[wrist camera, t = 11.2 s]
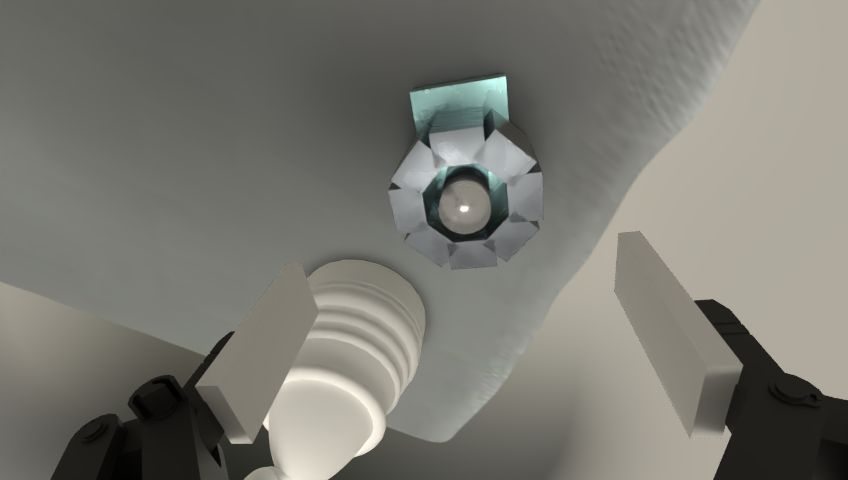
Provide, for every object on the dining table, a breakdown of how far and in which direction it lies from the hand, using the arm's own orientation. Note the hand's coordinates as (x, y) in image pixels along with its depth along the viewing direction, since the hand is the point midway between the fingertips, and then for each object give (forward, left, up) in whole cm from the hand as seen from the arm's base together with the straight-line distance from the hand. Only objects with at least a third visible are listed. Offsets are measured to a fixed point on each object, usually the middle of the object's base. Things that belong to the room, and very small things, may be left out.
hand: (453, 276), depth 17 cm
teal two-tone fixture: (0, 0, -16) cm, 16 cm away
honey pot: (+14, -12, -16) cm, 25 cm away
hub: (0, 0, -14) cm, 14 cm away
